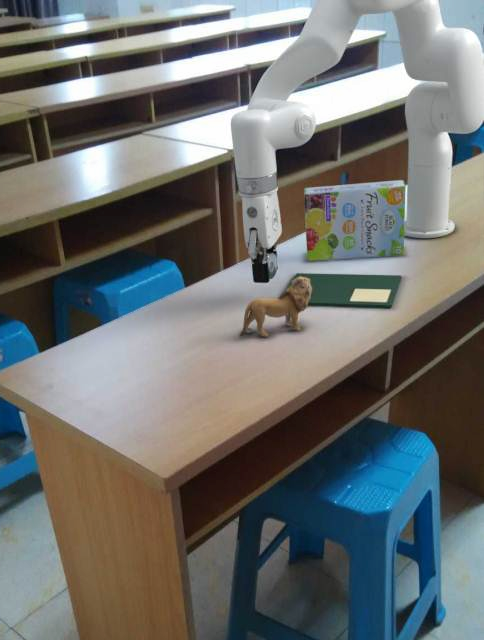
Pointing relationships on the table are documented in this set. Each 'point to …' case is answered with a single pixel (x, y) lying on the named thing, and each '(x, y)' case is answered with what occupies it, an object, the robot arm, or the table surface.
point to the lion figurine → (279, 306)
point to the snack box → (355, 220)
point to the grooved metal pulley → (271, 264)
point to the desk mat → (352, 289)
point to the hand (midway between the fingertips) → (265, 275)
